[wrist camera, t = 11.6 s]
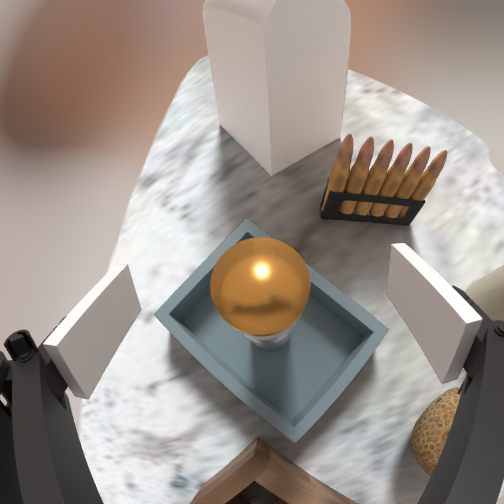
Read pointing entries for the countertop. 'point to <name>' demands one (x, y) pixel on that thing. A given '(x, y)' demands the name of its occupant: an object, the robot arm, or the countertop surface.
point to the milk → (279, 74)
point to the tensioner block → (266, 480)
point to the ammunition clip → (379, 184)
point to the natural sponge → (434, 429)
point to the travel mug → (489, 294)
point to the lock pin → (261, 290)
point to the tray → (284, 359)
